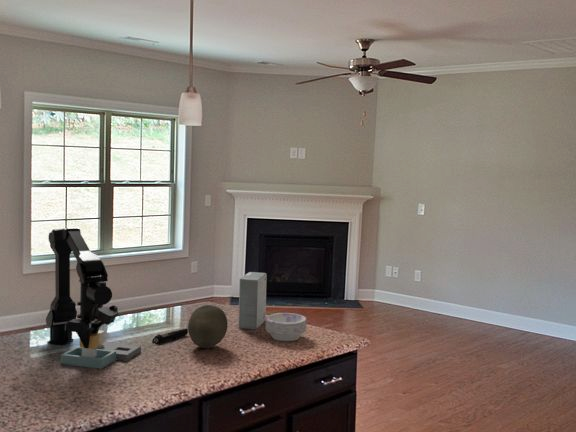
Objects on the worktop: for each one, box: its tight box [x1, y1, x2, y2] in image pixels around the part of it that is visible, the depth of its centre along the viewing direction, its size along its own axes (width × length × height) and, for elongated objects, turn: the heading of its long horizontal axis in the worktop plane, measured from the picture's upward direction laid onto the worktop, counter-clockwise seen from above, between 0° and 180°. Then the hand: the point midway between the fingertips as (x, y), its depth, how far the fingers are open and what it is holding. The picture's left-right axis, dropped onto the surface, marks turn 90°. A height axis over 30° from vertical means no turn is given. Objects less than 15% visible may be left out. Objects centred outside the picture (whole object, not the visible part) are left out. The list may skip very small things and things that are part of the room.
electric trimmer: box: [151, 327, 189, 345], centre depth 226 cm, size 4×16×3 cm, turn 143°
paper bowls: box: [265, 312, 307, 342], centre depth 233 cm, size 15×15×8 cm
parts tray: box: [60, 346, 117, 370], centre depth 198 cm, size 14×9×3 cm, turn 77°
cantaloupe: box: [187, 304, 228, 349], centre depth 217 cm, size 14×14×15 cm
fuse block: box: [97, 341, 142, 362], centre depth 207 cm, size 18×10×2 cm, turn 77°
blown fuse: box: [79, 333, 99, 357], centre depth 197 cm, size 5×3×7 cm, turn 77°
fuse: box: [97, 329, 106, 348], centre depth 208 cm, size 5×3×7 cm, turn 77°
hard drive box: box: [237, 271, 268, 331], centre depth 250 cm, size 16×8×20 cm, turn 169°
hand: (89, 346), depth 197 cm, fingers closed on blown fuse, 3 cm apart
